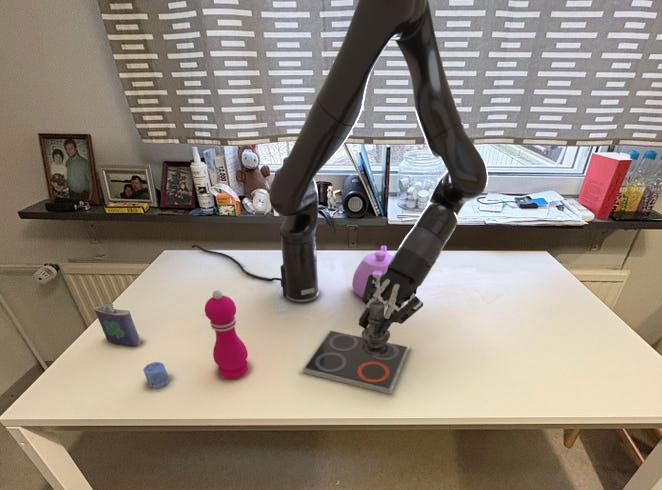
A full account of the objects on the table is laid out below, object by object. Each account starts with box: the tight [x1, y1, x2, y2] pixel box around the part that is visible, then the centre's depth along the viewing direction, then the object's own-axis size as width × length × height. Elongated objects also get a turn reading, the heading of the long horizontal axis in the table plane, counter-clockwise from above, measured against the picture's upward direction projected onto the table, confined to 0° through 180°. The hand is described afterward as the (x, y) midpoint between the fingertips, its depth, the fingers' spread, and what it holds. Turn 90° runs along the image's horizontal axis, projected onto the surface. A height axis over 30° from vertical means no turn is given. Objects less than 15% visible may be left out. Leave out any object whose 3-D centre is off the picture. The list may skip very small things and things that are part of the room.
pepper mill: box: [204, 290, 249, 380], centre depth 85 cm, size 7×7×20 cm
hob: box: [302, 330, 409, 395], centre depth 94 cm, size 20×16×2 cm
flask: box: [94, 302, 142, 348], centre depth 96 cm, size 9×3×11 cm, turn 74°
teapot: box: [351, 245, 394, 303], centre depth 117 cm, size 22×16×12 cm
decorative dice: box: [142, 361, 170, 389], centre depth 87 cm, size 4×4×4 cm
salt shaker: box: [361, 298, 391, 356], centre depth 81 cm, size 6×6×12 cm
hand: (369, 331), depth 81 cm, fingers closed on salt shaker, 3 cm apart
